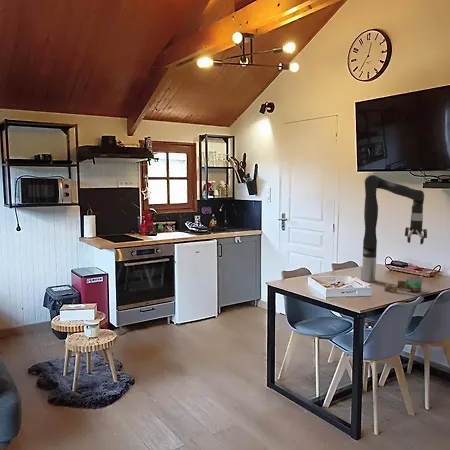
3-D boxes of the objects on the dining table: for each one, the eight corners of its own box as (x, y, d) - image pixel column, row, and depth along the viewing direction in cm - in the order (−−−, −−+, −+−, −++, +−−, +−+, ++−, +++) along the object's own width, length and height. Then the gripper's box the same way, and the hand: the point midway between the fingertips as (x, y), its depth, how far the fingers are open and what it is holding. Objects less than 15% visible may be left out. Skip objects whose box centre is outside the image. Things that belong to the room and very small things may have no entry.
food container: (411, 293, 289) (411, 278, 288) (404, 291, 295) (405, 276, 294) (427, 292, 292) (427, 277, 291) (420, 290, 298) (421, 275, 297)
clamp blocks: (384, 290, 298) (384, 284, 298) (399, 285, 313) (399, 280, 312) (394, 293, 293) (394, 286, 293) (409, 287, 308) (409, 281, 307)
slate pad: (401, 293, 292) (401, 292, 292) (412, 289, 303) (412, 288, 303) (417, 296, 285) (417, 295, 285) (428, 292, 296) (428, 291, 296)
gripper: (403, 219, 311) (402, 242, 312) (424, 220, 300) (423, 245, 302) (409, 218, 316) (407, 241, 317) (429, 220, 305) (428, 244, 307)
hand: (415, 243), depth 310 cm, fingers open, 8 cm apart
